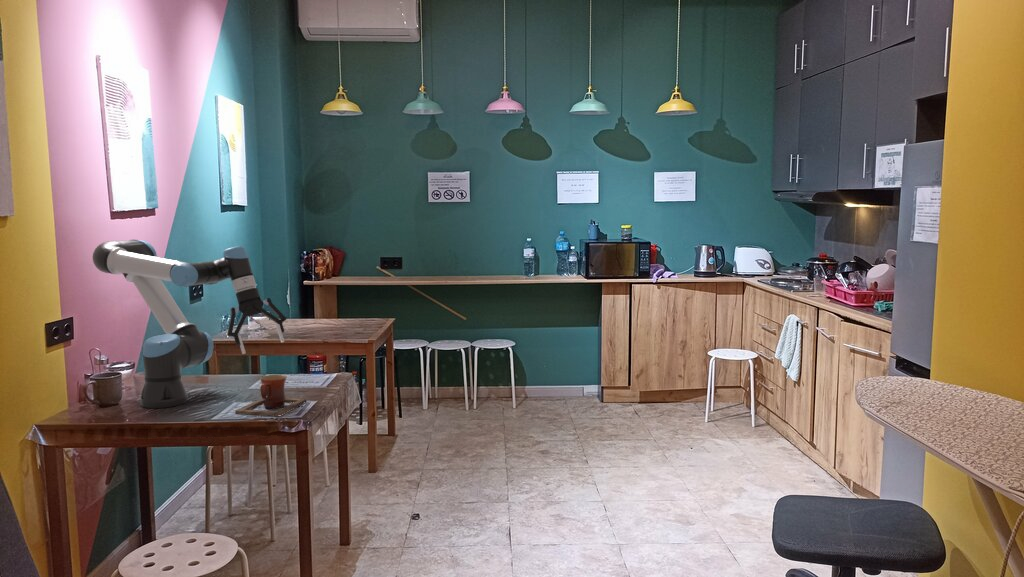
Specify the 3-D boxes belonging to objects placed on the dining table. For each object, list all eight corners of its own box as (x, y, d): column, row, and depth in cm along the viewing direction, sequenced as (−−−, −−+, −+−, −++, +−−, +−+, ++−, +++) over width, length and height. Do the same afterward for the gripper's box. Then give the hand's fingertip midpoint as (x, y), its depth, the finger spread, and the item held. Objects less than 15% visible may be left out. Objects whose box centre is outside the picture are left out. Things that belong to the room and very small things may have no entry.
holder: (235, 413, 250) (235, 410, 250) (264, 399, 269) (264, 396, 269) (279, 416, 247) (279, 413, 247) (306, 401, 266) (306, 399, 266)
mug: (269, 402, 265) (268, 374, 264) (292, 404, 263) (291, 375, 262) (250, 411, 253) (249, 381, 252) (274, 413, 251) (273, 382, 250)
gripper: (210, 297, 255) (228, 357, 255) (283, 279, 267) (300, 336, 267) (208, 300, 261) (226, 359, 261) (279, 282, 273) (296, 338, 273)
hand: (263, 348), depth 264 cm, fingers open, 13 cm apart
